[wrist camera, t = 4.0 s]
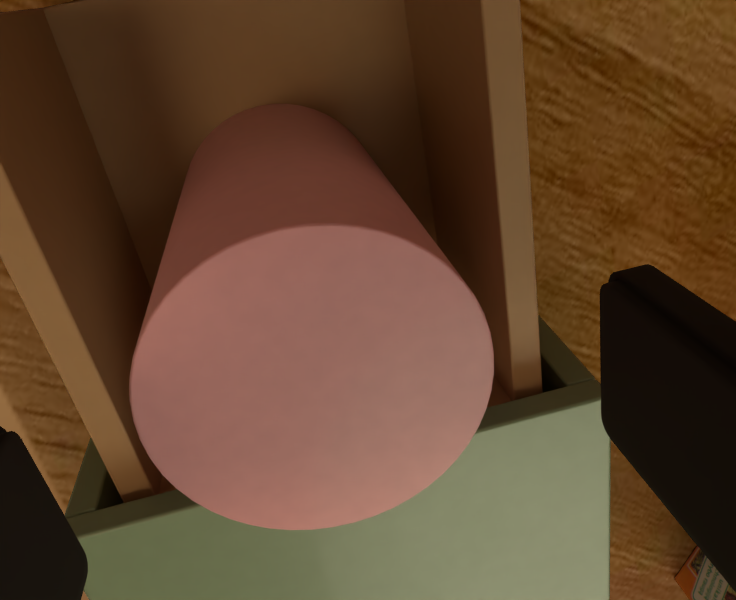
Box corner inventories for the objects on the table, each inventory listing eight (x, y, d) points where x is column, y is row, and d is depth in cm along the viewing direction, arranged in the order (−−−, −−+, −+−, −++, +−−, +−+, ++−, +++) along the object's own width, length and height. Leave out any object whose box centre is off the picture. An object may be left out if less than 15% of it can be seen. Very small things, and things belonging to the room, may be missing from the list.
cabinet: (123, 337, 23) (53, 543, 14) (480, 249, 24) (612, 395, 15) (240, 609, 30) (239, 853, 22) (509, 533, 31) (609, 738, 23)
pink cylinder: (175, 277, 20) (117, 526, 11) (195, 84, 18) (142, 192, 8) (356, 299, 22) (442, 535, 12) (397, 124, 19) (543, 253, 10)
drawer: (-152, -339, 14) (-550, -667, 7) (398, -425, 15) (537, -791, 8) (148, 375, 23) (108, 544, 16) (476, 293, 24) (573, 420, 17)
